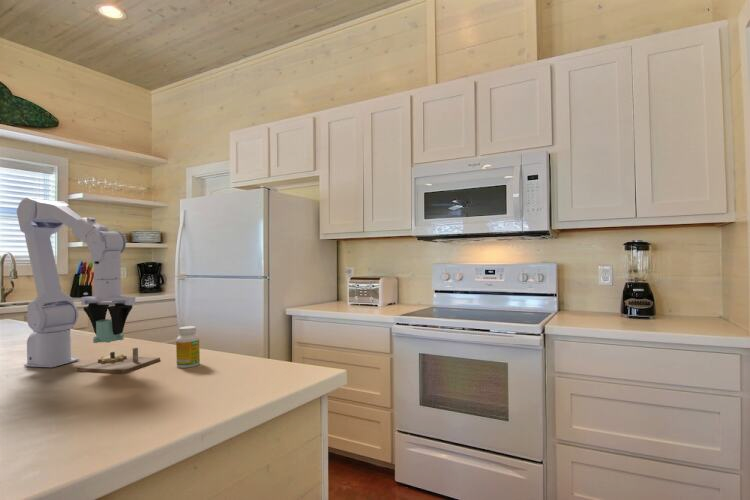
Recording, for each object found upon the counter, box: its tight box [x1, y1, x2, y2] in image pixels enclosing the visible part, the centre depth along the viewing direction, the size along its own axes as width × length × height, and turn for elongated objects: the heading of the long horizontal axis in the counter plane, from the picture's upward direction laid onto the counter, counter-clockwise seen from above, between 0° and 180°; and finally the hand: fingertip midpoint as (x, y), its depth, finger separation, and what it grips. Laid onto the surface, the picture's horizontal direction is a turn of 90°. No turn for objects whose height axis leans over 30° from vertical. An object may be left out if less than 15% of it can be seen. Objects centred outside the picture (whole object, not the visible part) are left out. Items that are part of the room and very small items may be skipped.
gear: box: [92, 318, 125, 344], centre depth 105 cm, size 7×7×5 cm
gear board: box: [76, 347, 161, 374], centre depth 109 cm, size 14×12×4 cm
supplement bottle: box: [175, 325, 201, 369], centre depth 108 cm, size 5×5×10 cm
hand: (108, 333), depth 105 cm, fingers closed on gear, 5 cm apart
